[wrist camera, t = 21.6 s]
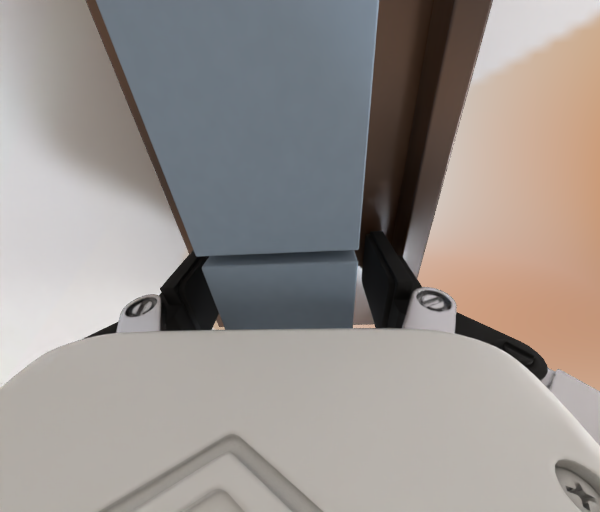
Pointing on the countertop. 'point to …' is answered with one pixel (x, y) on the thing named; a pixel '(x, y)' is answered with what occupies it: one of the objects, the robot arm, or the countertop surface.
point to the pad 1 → (254, 115)
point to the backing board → (392, 120)
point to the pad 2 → (284, 289)
